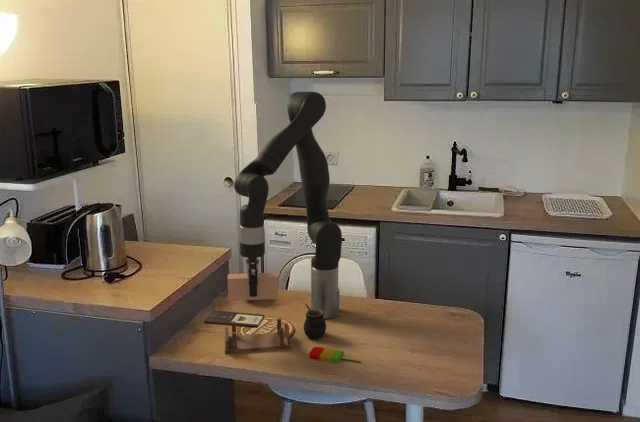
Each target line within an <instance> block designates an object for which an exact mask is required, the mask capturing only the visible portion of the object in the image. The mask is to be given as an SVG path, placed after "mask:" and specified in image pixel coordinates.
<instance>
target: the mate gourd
mask: <svg viewBox="0 0 640 422" xmlns="http://www.w3.org/2000/svg"><path fill="white" fill-rule="evenodd" d="M304 305H305V307H306V308H307V309H308V310H307V311H306V312H305V321H304V323H303V331H304V335H305V336H306V337H308V338H309V339H310V340H318V339H321V338H323V337H324V335H325V333H326V331H327V323H326V320H325V319H324V318H323V316H324V315H323V314H324V313H323V311H321V310H317V309H314V310H311V307H309V305H308V304H307V303H305V304H304Z"/></svg>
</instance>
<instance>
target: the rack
mask: <svg viewBox="0 0 640 422" xmlns="http://www.w3.org/2000/svg"><path fill="white" fill-rule="evenodd" d="M276 327H277V328H276V332H267V333H256V334H255V333H254V334H239V335H237V326H236V321H232V325H231V335H229V327H228V326H226V327H225V328H224V330H225V336H224V354H225V355H227V354H239V353H252V352H267V351H269V352H270V351H280V350H282V351H283V350H292V348H293V344H292V341H291V340H292V339H291V333H290V329H289V326H288V323H287V322H286V323H284V328H282V318H281V317H279V318H278V317H277V318H276Z"/></svg>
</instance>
